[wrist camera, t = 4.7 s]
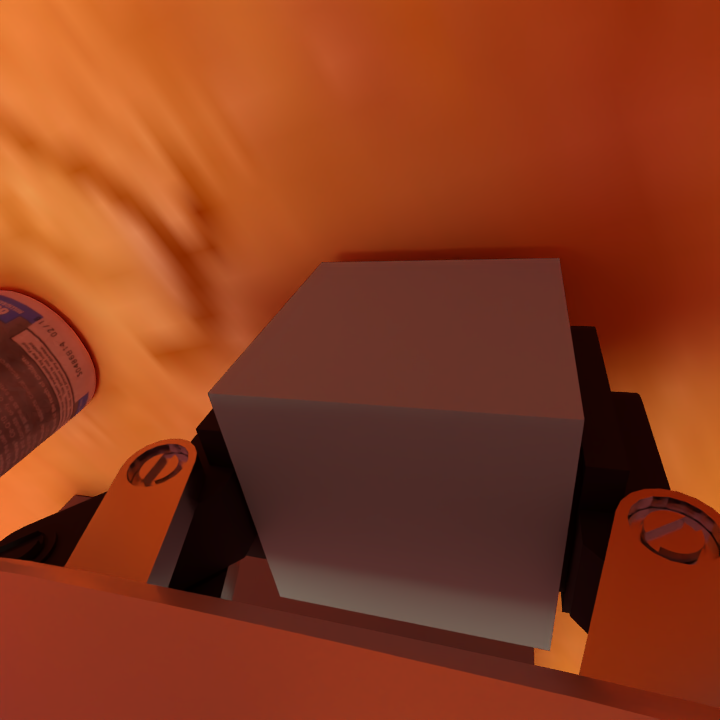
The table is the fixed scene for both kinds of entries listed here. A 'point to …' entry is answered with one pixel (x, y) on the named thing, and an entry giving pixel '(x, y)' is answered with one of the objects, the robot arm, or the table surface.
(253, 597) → the tote
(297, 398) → the gray cube
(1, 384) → the pill bottle
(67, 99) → the table surface
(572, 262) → the table surface
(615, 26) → the table surface
